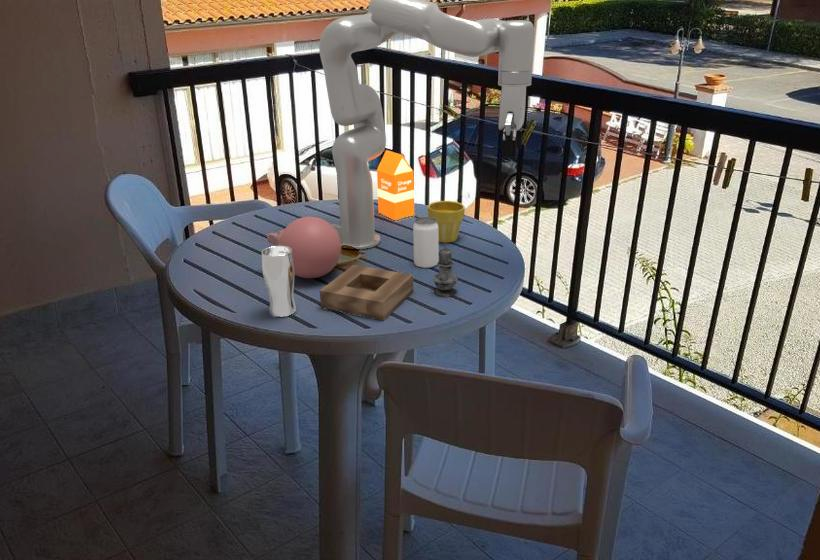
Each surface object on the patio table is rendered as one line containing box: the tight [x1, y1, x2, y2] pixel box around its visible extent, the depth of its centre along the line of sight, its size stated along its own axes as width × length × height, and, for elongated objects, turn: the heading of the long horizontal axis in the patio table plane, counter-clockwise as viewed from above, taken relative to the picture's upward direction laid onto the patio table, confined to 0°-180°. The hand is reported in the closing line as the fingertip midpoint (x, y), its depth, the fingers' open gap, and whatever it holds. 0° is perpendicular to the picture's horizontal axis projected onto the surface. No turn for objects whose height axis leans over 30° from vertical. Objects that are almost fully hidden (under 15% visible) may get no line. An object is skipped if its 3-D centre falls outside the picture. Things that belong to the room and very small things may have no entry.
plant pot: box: [427, 200, 466, 243], centre depth 194 cm, size 10×10×10 cm
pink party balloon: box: [266, 216, 342, 279], centre depth 172 cm, size 15×20×15 cm
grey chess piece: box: [432, 244, 458, 298], centre depth 162 cm, size 6×6×12 cm
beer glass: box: [261, 245, 297, 317], centre depth 153 cm, size 7×7×15 cm
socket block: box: [319, 264, 414, 322], centre depth 160 cm, size 16×16×4 cm
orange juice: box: [376, 149, 415, 221], centre depth 211 cm, size 8×9×20 cm
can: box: [412, 216, 440, 269], centre depth 177 cm, size 6×6×12 cm
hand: (511, 152), depth 164 cm, fingers open, 9 cm apart
